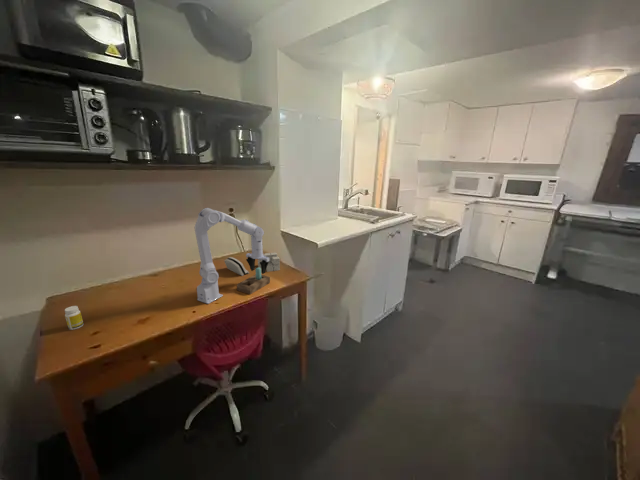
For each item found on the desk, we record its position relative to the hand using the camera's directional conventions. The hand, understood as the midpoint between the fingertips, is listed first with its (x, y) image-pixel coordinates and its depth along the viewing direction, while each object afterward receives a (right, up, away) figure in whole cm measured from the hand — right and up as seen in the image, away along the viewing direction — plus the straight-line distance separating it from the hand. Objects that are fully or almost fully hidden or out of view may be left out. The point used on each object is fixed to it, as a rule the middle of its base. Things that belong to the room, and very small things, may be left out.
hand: (258, 271), depth 151 cm
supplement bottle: (-66, -18, -38) cm, 78 cm away
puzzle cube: (+1, -1, +24) cm, 24 cm away
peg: (0, -7, +2) cm, 7 cm away
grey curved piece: (-17, -2, +18) cm, 25 cm away
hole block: (-2, -8, -1) cm, 8 cm away
